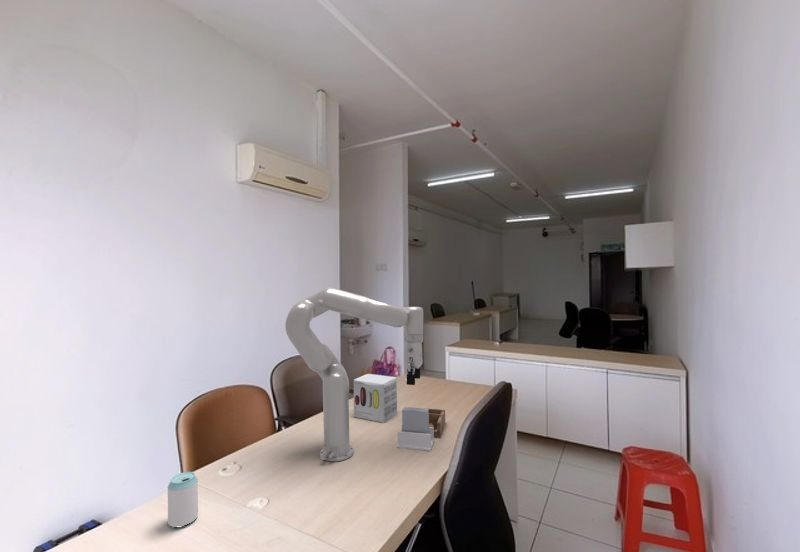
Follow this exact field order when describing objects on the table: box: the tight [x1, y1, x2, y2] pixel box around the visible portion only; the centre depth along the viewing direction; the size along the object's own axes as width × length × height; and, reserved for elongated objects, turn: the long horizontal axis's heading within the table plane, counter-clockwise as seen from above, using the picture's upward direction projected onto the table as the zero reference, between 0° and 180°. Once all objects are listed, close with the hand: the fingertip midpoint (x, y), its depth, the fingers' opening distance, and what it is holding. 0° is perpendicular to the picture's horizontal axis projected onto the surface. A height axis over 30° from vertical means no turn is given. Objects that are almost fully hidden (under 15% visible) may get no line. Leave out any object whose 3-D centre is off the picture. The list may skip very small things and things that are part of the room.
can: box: [167, 471, 199, 528], centre depth 99 cm, size 7×7×12 cm
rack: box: [427, 407, 446, 439], centre depth 158 cm, size 16×16×6 cm
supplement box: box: [353, 373, 398, 424], centre depth 175 cm, size 17×13×18 cm
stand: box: [396, 427, 435, 452], centre depth 143 cm, size 9×13×6 cm
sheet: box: [401, 406, 430, 434], centre depth 143 cm, size 4×10×13 cm, turn 75°
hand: (413, 381), depth 143 cm, fingers open, 9 cm apart
